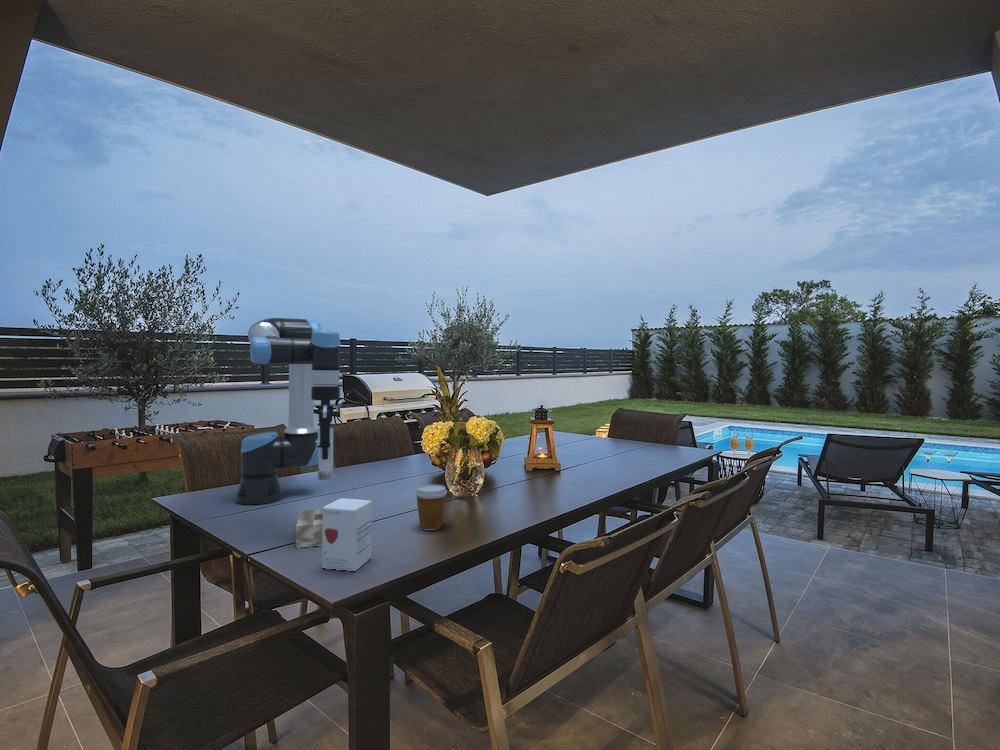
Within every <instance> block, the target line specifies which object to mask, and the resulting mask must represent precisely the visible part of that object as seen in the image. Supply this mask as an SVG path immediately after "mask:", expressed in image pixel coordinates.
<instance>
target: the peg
mask: <svg viewBox="0 0 1000 750" xmlns="http://www.w3.org/2000/svg"><path fill="white" fill-rule="evenodd" d="M317 429H318V445H320V427H319V428H317ZM317 479H318V480H320V481H327V480H333V479H334V427H331V428H330V471H320V448H318V463H317Z"/></svg>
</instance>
